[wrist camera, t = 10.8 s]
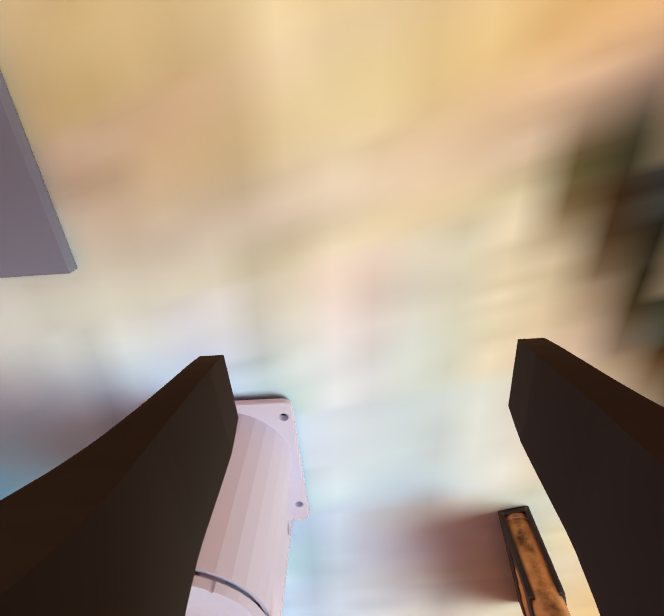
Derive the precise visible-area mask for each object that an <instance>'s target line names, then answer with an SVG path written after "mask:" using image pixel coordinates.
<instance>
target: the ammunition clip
mask: <svg viewBox="0 0 664 616" xmlns="http://www.w3.org/2000/svg"><path fill="white" fill-rule="evenodd" d="M498 514H499V518H500V523H501V527H502V531H503V535H504V540H505V544H506V548H507V553H508V557H509V561H510V565H511V570H512V574H513V578H514V583H515V587H516V591H517V595H518V600H519V603H520V606H521V609H522V612H523V615H524V616H571V615H570V613H569V611H568V608H567V604H566V597H565V592H564V590H563V587H562V585H561V583H560V580H559V578H558V576H557V573H556V571H555V569H554V566H553V564H552V561H551V559H550V557H549V554H548V552H547V550H546V547H545V545H544V543H543V540H542V538H541V535H540V533H539V531H538V528H537V526H536V524H535V521H534V519H533V516H532V514H531V512H530V509H529V507H528V506H526V507H521V508H515V509H510V510H505V511H499V512H498Z"/></svg>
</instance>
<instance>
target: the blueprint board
mask: <svg viewBox="0 0 664 616" xmlns="http://www.w3.org/2000/svg"><path fill="white" fill-rule="evenodd" d="M75 269H77V266H76V263H75V261H74V258H73V256H72V253H71V251H70V248H69V245H68V243H67V240H66V238H65V235H64V233H63V230H62V227H61V225H60V222H59V220H58V217H57V215H56V212H55V209H54V207H53V204H52V202H51V199H50V197H49V194H48V192H47V189H46V186H45V184H44V181H43V179H42V176H41V174H40V171H39V168H38V166H37V163H36V161H35V158H34V156H33V153H32V150H31V148H30V145H29V143H28V140H27V138H26V135H25V132H24V130H23V127H22V125H21V122H20V120H19V117H18V114H17V112H16V109H15V107H14V104H13V102H12V99H11V96H10V94H9V91H8V89H7V86H6V84H5V81H4V78H3V76H2V73H1V71H0V278H5V277H20V276H35V275H50V274H65V273H71V272H72V271H74V270H75Z"/></svg>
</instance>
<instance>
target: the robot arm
mask: <svg viewBox="0 0 664 616" xmlns="http://www.w3.org/2000/svg"><path fill="white" fill-rule="evenodd" d="M508 406H509V409H510V412H511V415H512V418H513V421H514V424H515V427H516V430H517V432H518V435H519V438H520V441H521V443H522V445H523V447H524V449H525V451H526V453H527V455H528V457H529V459H530V461H531V463H532V465H533V467H534V469H535V471H536V473H537V475H538V477H539V479H540V481H541V483H542V485H543V487H544V489H545V491H546V493H547V495H548V497H549V499H550V501H551V503H552V505H553V507H554V508H555V510H556V512H557V514H558V516H559V518H560V520H561V522H562V524H563V526H564V528H565V530H566V532H567V534H568V536H569V539H570V541H571V543H572V545H573V547H574V549H575V552H576V554H577V556H578V559H579V561H580V564H581V567H582V569H583V572H584V574H585V577H586V579H587V582H588V584H589V587H590V589H591V592H592V594H593V597H594V599H595V602H596V605H597V608H598V610H599V613H600V616H664V407H662V406H660V405H658V404H657V403H655V402H653V401H651V400H649V399H647V398H645V397H644V396H642V395H640V394H638V393H637V392H635V391H633V390H631V389H630V388H628V387H626V386H624V385H623V384H621V383H619V382H618V381H616V380H614V379H613V378H611V377H609V376H608V375H606V374H604V373H603V372H601V371H599V370H598V369H596V368H594V367H593V366H591V365H589V364H588V363H586V362H585V361H583V360H581V359H580V358H578V357H576V356H575V355H573V354H572V353H570V352H568V351H567V350H565V349H563V348H562V347H560V346H558V345H556V344H555V343H553V342H551V341H549V340H547V339H545V338H534V339H518V343H517V350H516V357H515V363H514V370H513V377H512V384H511V391H510V398H509V405H508ZM283 413H284V414H287V416H283V415H281V414H283ZM308 516H309V505H308V498H307V492H306V486H305V480H304V473H303V467H302V461H301V455H300V448H299V442H298V436H297V430H296V424H295V417H294V411H293V405H292V403H291V402H290V401H289V400H287V399H283V398H280V399H259V400H237V401H234V397H233V392H232V388H231V384H230V380H229V376H228V372H227V368H226V363H225V359H224V355H215V356H200V357H198V358H197V359H196V360H194V361H193V362H192V363H190V364H189V365H188V366H187V367H186V368H184V369H183V370H182V371H181V372H180V373H179V374H177V375H176V376H175V377H174V378H173V379H172V380H171V381H169V382H168V383H167V384H166V385H165V386H164V387H162V388H161V389H160V390H159V391H158V392H156V393H155V394H154V395H153V396H152V397H151V398H149V399H148V400H147V401H146V402H145V403H143V404H142V405H141V406H140V407H139V408H137V409H136V410H135V411H133V412H132V413H131V414H130V415H128V416H127V417H126V418H125V419H123V420H122V421H121V422H119V423H118V424H117V425H116V426H114V427H113V428H112V429H110V430H109V431H108V432H107V433H105V434H104V435H103V436H101V437H100V438H99V439H97V440H96V441H94V442H93V443H92V444H90V445H89V446H87V447H86V448H84V449H83V450H82V451H80V452H79V453H77V454H76V455H74V456H73V457H71V458H70V459H68V460H67V461H65V462H64V463H62V464H61V465H59V466H57V467H56V468H54V469H53V470H51V471H50V472H48V473H46V474H45V475H43V476H41V477H40V478H38V479H36V480H34V481H33V482H31V483H29V484H28V485H26V486H24V487H23V488H21V489H19V490H17V491H16V492H14V493H12V494H11V495H9V496H7V497H5V498H4V499H2V500H0V616H281V614H282V607H283V598H284V590H285V582H286V573H287V565H288V556H289V548H290V539H291V531H292V522H293V520H303V519H306V518H308Z"/></svg>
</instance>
